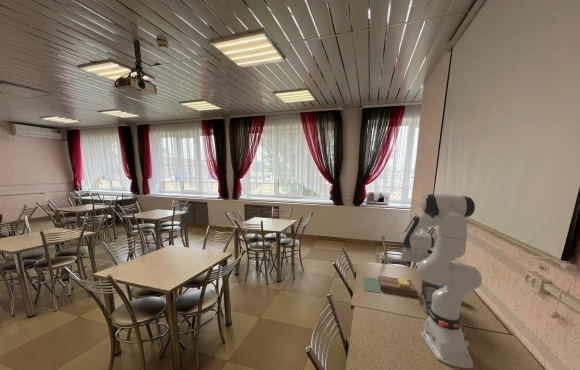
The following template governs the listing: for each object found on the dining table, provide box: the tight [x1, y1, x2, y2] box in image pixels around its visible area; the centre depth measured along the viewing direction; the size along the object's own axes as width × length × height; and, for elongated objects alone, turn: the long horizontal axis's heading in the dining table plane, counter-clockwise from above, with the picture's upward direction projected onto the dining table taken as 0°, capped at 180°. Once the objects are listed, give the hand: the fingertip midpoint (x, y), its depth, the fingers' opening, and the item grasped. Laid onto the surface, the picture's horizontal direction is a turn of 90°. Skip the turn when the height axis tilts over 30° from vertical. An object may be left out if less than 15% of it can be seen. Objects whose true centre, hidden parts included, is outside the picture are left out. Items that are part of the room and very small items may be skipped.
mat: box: [363, 275, 381, 294], centre depth 157 cm, size 20×10×1 cm, turn 164°
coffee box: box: [419, 278, 439, 315], centre depth 130 cm, size 9×6×16 cm
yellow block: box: [396, 277, 410, 288], centre depth 151 cm, size 9×6×2 cm, turn 164°
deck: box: [377, 275, 418, 298], centre depth 152 cm, size 14×22×4 cm, turn 74°
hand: (416, 268), depth 148 cm, fingers closed
